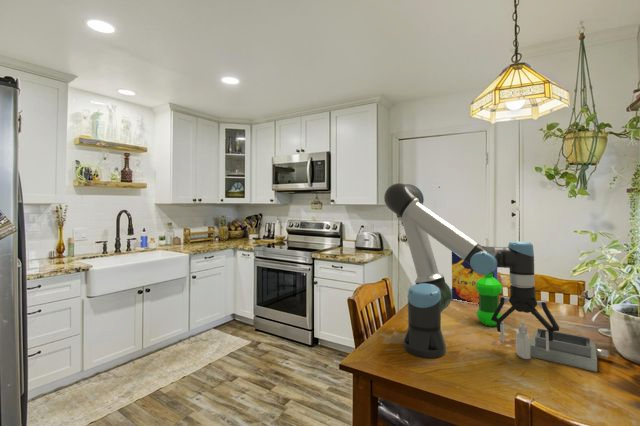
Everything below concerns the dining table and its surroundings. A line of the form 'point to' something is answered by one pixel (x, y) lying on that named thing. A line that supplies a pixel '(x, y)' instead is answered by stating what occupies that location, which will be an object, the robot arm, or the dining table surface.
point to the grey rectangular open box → (566, 350)
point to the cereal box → (465, 280)
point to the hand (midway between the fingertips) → (524, 345)
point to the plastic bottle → (488, 298)
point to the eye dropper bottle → (523, 342)
